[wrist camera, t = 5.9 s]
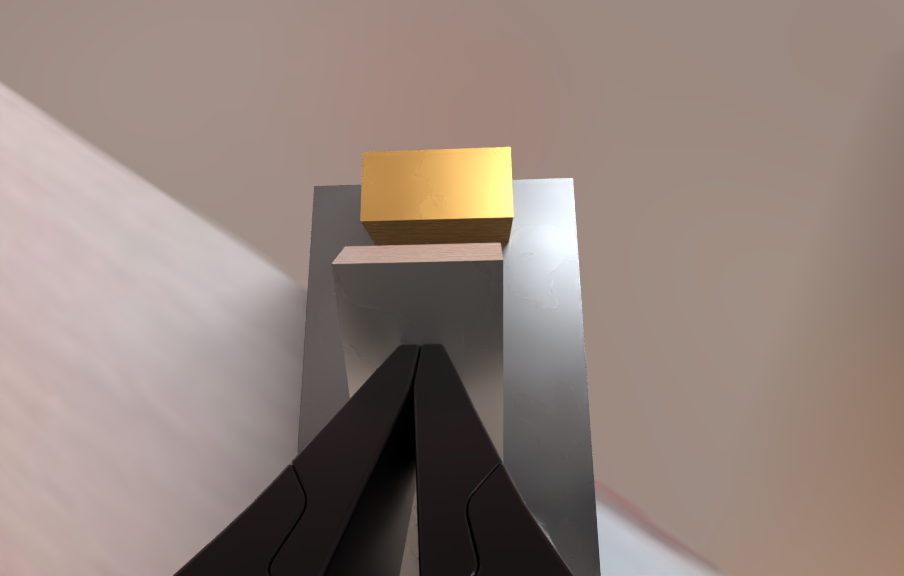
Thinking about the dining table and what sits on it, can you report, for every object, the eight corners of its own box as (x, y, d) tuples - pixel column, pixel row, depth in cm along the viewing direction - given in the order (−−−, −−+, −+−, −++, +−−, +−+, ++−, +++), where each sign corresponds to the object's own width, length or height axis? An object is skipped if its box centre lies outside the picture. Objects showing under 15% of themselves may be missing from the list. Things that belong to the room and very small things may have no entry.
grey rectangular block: (571, 595, 17) (631, 719, 10) (338, 592, 17) (248, 710, 11) (550, 233, 20) (586, 144, 13) (353, 238, 20) (290, 154, 14)
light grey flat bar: (501, 562, 13) (503, 599, 12) (384, 561, 13) (377, 598, 12) (500, 242, 10) (503, 260, 9) (345, 246, 10) (330, 264, 9)
